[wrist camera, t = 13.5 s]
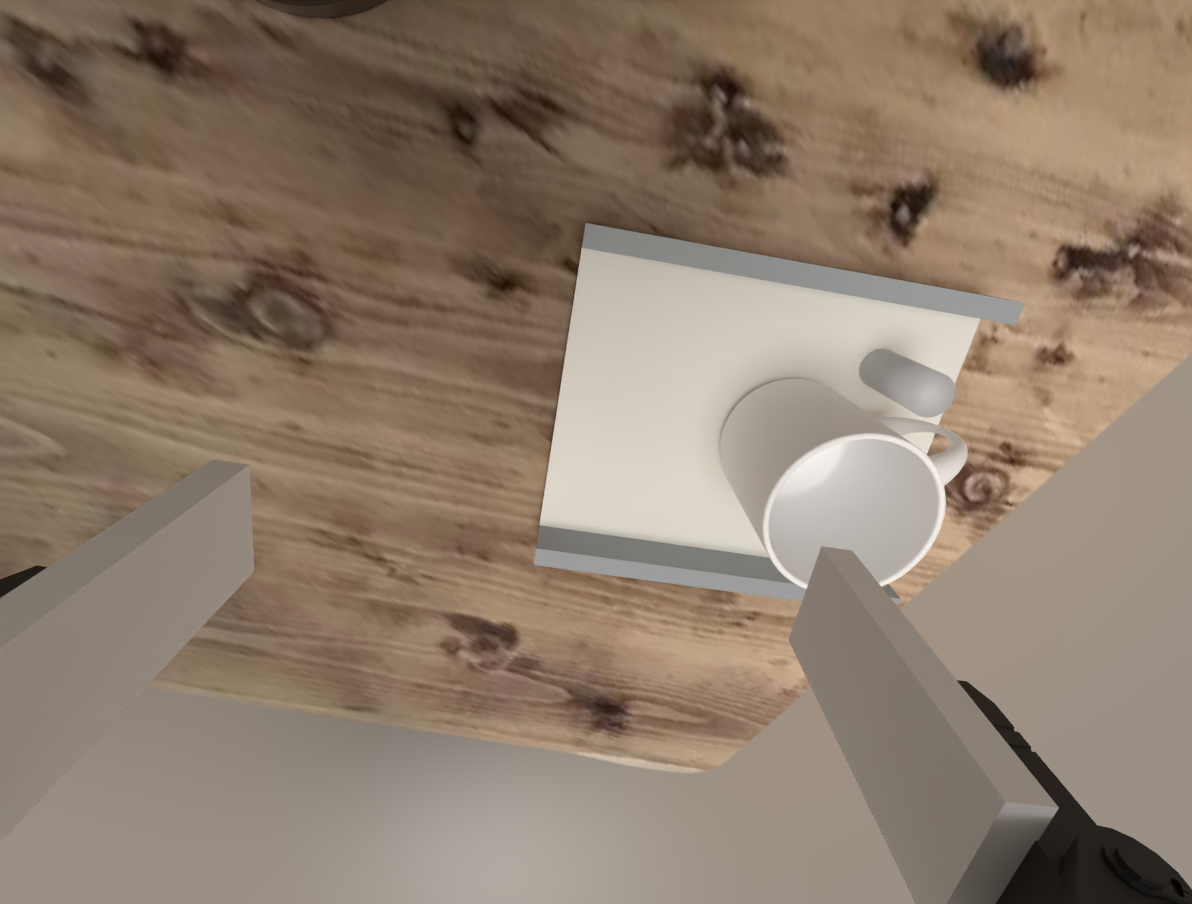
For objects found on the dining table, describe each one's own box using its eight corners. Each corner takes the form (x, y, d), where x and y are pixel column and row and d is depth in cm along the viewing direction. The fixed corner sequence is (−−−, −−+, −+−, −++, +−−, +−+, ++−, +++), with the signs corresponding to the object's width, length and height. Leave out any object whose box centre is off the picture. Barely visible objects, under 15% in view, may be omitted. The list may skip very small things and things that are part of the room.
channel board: (585, 222, 34) (585, 223, 28) (977, 293, 36) (1066, 310, 29) (538, 532, 42) (529, 592, 35) (866, 578, 43) (917, 643, 37)
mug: (911, 467, 39) (1024, 553, 29) (731, 515, 40) (780, 614, 30) (897, 341, 36) (1017, 388, 26) (703, 397, 37) (746, 463, 27)
